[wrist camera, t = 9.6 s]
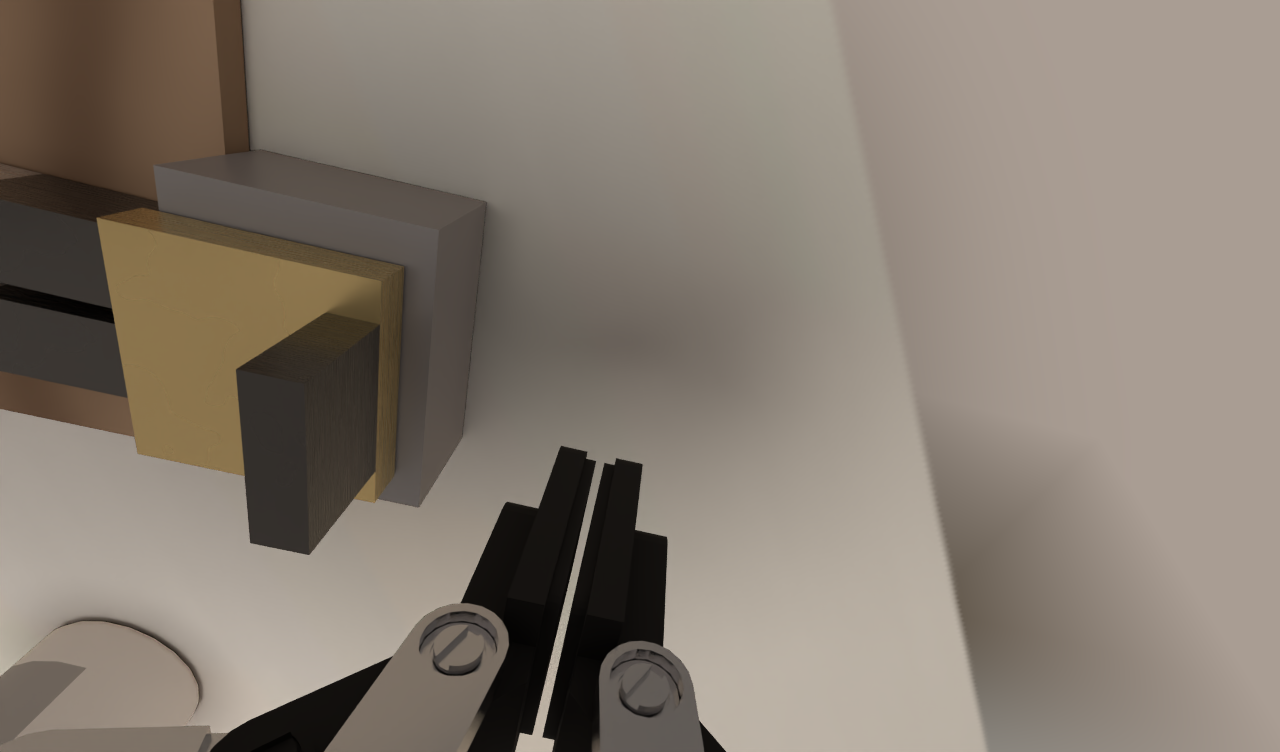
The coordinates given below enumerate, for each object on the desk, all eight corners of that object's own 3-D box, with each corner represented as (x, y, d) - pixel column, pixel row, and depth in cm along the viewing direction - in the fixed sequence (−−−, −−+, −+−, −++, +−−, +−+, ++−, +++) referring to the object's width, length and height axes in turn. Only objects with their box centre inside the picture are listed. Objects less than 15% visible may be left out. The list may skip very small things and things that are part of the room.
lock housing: (273, 397, 20) (191, 460, 17) (259, 149, 17) (152, 164, 13) (462, 437, 21) (419, 507, 17) (486, 202, 17) (438, 230, 14)
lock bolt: (173, 429, 16) (20, 532, 12) (142, 207, 14) (-62, 252, 10) (394, 476, 17) (309, 590, 13) (404, 266, 14) (302, 332, 10)
